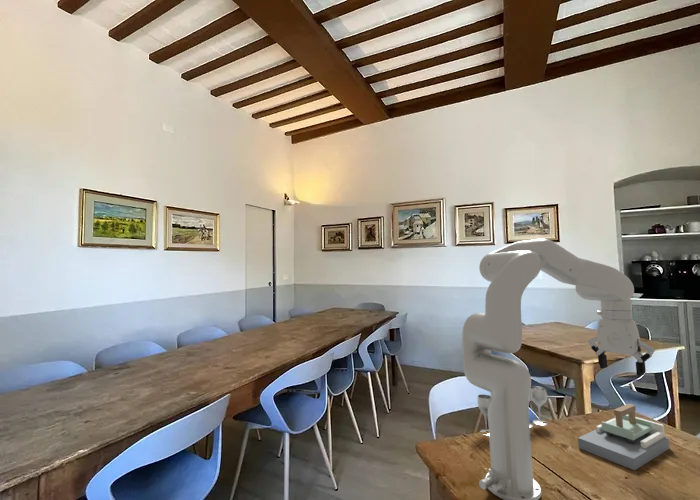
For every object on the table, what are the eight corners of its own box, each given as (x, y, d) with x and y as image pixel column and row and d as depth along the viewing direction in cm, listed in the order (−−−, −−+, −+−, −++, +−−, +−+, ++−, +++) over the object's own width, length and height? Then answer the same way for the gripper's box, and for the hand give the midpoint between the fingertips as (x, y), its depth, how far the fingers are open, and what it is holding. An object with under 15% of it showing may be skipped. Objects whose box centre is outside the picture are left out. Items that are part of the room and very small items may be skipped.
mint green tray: (633, 446, 97) (631, 416, 97) (602, 435, 104) (600, 407, 104) (652, 435, 103) (649, 407, 103) (621, 426, 110) (619, 399, 110)
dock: (634, 470, 90) (632, 445, 91) (578, 448, 102) (576, 425, 103) (669, 448, 101) (667, 425, 101) (614, 430, 113) (613, 410, 113)
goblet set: (486, 438, 110) (484, 396, 111) (475, 430, 116) (473, 390, 117) (553, 424, 119) (550, 386, 120) (539, 418, 124) (537, 381, 125)
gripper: (580, 314, 112) (584, 367, 110) (645, 319, 97) (651, 380, 95) (592, 312, 115) (596, 363, 114) (656, 317, 100) (662, 376, 99)
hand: (621, 371), depth 105 cm, fingers open, 9 cm apart
